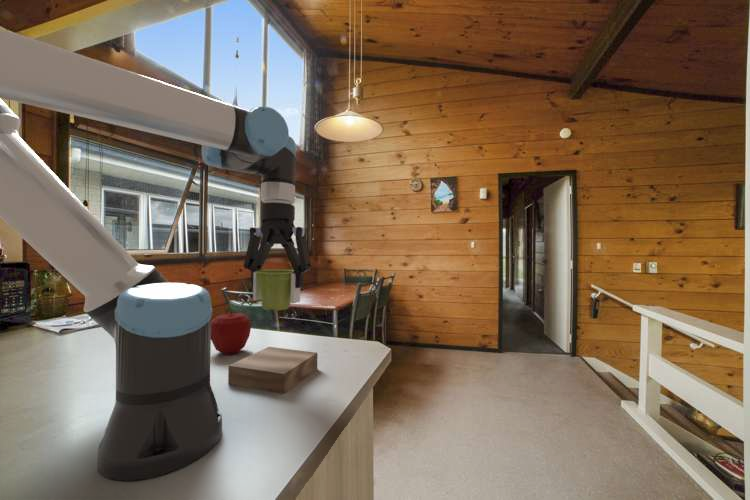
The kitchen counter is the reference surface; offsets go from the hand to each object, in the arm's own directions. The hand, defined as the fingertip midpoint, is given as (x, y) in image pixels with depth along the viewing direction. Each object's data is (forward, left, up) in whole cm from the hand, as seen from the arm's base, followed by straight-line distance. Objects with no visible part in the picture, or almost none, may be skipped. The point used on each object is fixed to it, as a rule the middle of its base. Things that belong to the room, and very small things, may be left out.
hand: (276, 300), depth 72 cm
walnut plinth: (0, 0, -17) cm, 17 cm away
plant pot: (0, 0, -2) cm, 2 cm away
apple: (+10, +22, -18) cm, 30 cm away
